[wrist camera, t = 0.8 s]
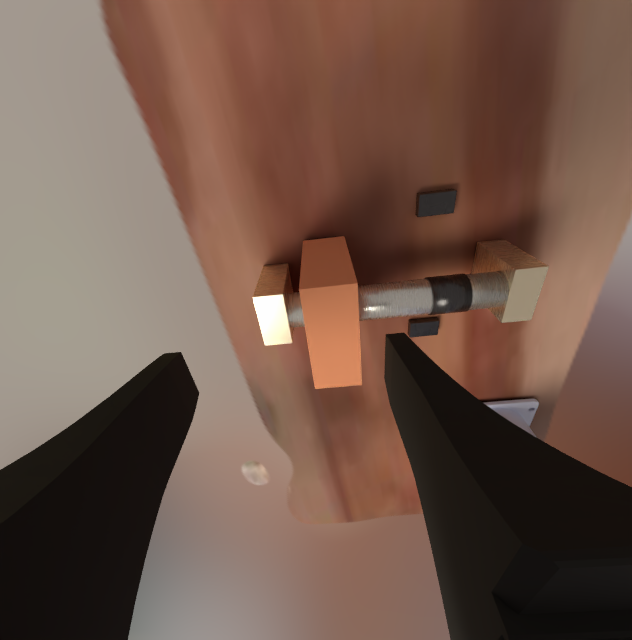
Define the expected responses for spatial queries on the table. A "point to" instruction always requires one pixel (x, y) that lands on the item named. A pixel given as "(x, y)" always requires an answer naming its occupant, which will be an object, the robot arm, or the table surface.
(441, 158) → the table surface
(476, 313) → the table surface
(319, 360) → the upright terracotta block
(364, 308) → the pipe rail
